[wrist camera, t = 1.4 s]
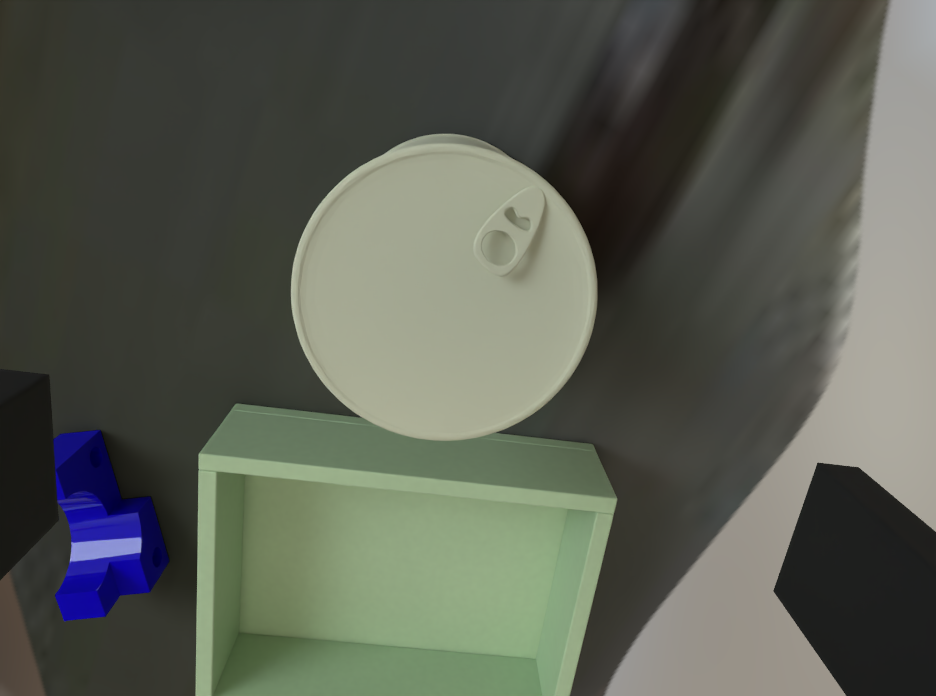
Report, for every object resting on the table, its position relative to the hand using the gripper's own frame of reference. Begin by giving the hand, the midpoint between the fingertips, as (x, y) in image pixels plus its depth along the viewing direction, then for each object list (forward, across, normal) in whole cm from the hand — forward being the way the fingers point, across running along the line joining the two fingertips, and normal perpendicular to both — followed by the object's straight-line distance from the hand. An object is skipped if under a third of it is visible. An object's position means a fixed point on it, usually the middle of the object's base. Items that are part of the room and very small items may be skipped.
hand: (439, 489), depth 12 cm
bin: (+20, 0, -16) cm, 26 cm away
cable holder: (+21, -15, -15) cm, 30 cm away
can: (+21, 0, +1) cm, 21 cm away
